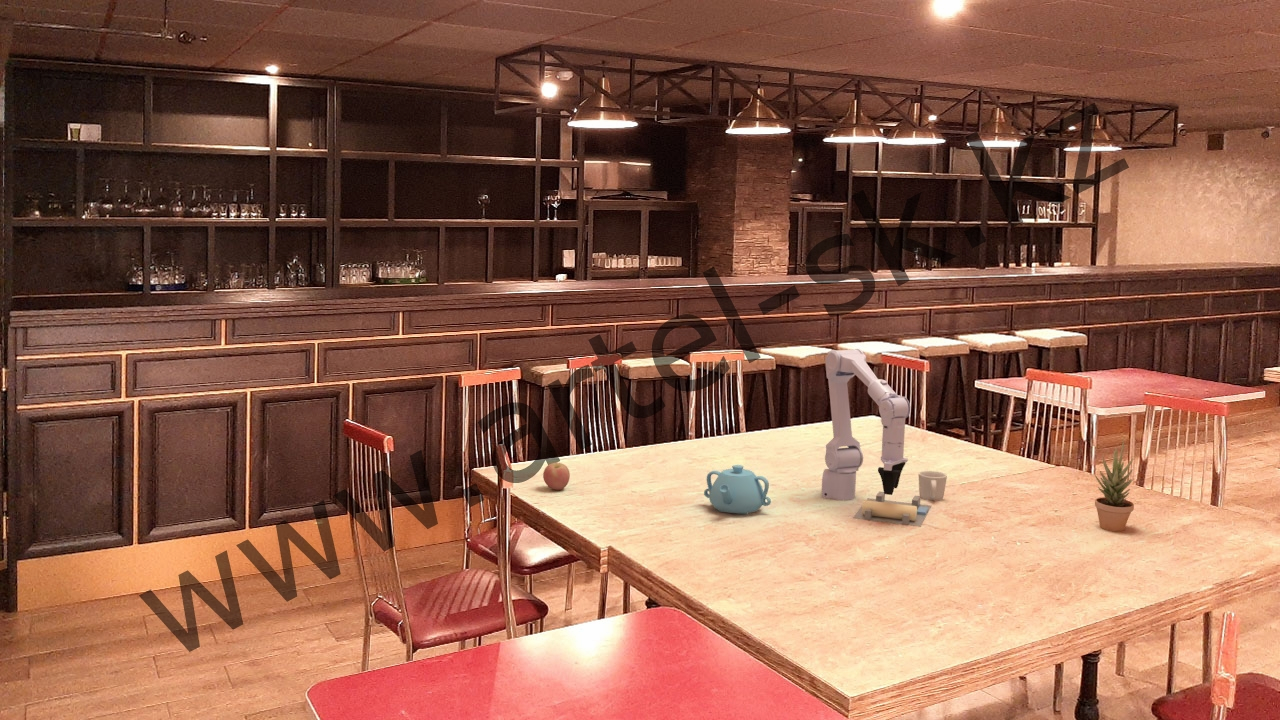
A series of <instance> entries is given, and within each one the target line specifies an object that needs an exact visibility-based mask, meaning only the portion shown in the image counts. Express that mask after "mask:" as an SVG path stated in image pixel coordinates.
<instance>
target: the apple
mask: <svg viewBox="0 0 1280 720" xmlns="http://www.w3.org/2000/svg"><path fill="white" fill-rule="evenodd" d="M570 476H571V474H570V470H569V468H568V466H567V465H566V464H564V463H562V462H552V463H550V464H548V465H546V467H545V468H544V470H543V473H542V478H543V481H544V483H545V484H546V486H547V487H548V488H550V489H552V490H555V491H561V490H563V489H565V488H566V487H567V485H568V484H569V482H570Z"/></svg>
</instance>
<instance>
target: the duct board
mask: <svg viewBox="0 0 1280 720" xmlns="http://www.w3.org/2000/svg"><path fill="white" fill-rule="evenodd" d="M885 496H886V494H884V491H878V493H877V494H876V495H875V498H870V497H869V498H867V499H866V500H868V501H876V502H884V503H893V504H901V505H910V506H917V517H916V521H910V514H906V513H904V514H903V518H902V520H901V519H893V518H885V517H877V516H872V509H866V510H865V515H863V514H862V506H863V504H861V506H860V507H859V509H858V510H857V512H856V513H854V515H853V516H852V519H857V520H865V521H871V522H881V523H888V524H895V525H903V526H904V525H905V526H913V527H918V528H920V527H922V525H923V523H924V522H925V520H926V517H927V515H928V513H929V512H930V510H931V508H932V505H928V504H921V498H920V497H921V496H920V495H914V496H913V497H912V499H911V502H903V501H902V502H901V501H893V500H885V499H886V498H885Z"/></svg>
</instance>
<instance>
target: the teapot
mask: <svg viewBox="0 0 1280 720" xmlns="http://www.w3.org/2000/svg"><path fill="white" fill-rule="evenodd" d="M712 475H717V477H716V479H715V480H714V482H713V483H712ZM760 481H762V482H763V484H764V489H763V486H762V484H761V482H760ZM706 485H707V488H706V489H704V491H703V495H704V496H705V497H706V498H707V499H709V502H710V503H711V505H712V506H713V507H714V509H715V510H718V512H720V513H730V514H738V515H740V514H741V516H747V515H748V514H749V513H754V512H755V513H756V512H757V511H758V510H760V508H761V507H762V506H764V507H768V506H770V505H771V503H772V501H771V497H769V496H767V495H768V491H769V487H770V483H769V481H768V479H767V478H766V477H764V476H763V475H762V476H761V475H758V476H757V475H756V474H755V472H753V471H752V470H748V469H744V466H743V465H742V464H734V465H732V468H728V469H723V470H722V471H719V470H711V471H709V472H708V473H707V475H706ZM766 501H767V502H766Z"/></svg>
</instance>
